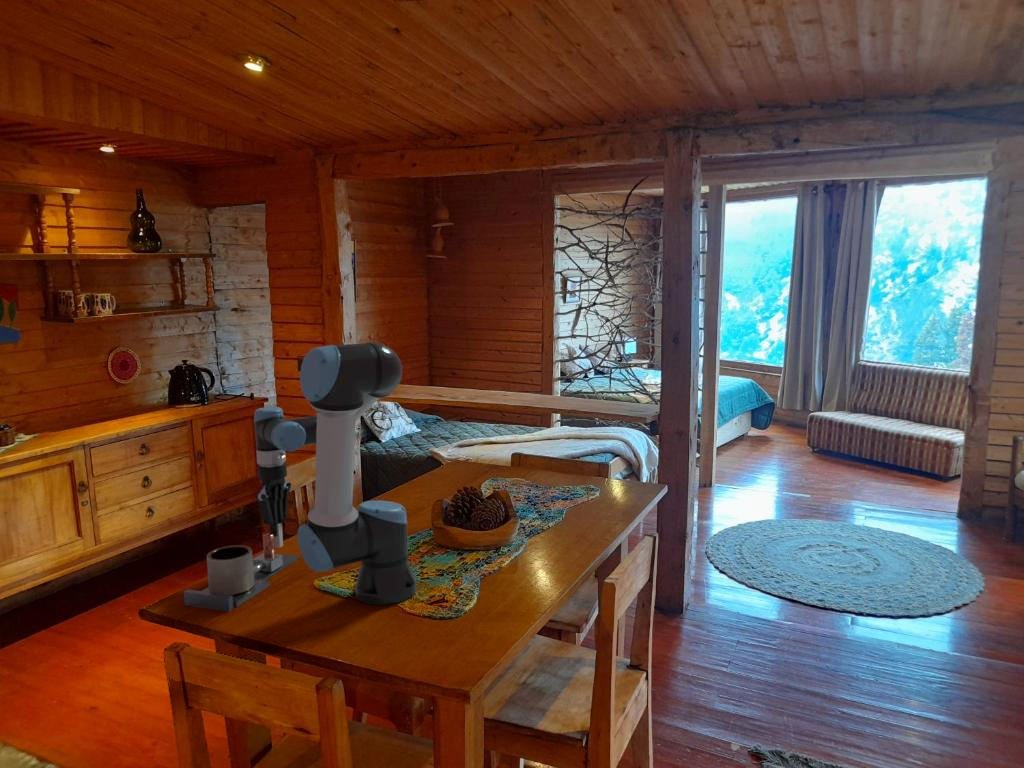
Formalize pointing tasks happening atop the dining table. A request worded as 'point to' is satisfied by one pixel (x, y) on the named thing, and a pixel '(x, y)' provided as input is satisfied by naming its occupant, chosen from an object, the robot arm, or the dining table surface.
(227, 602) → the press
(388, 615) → the dining table surface
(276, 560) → the pink cylinder stand
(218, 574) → the planter
